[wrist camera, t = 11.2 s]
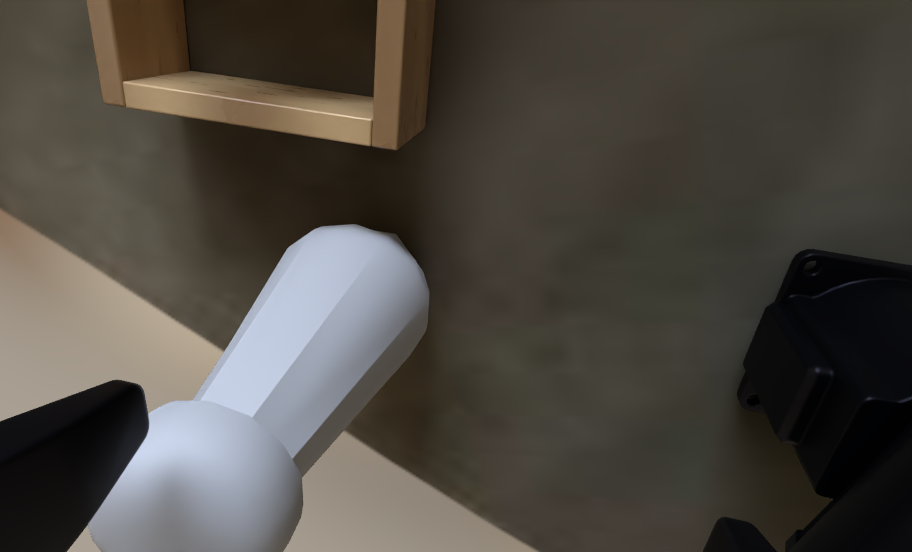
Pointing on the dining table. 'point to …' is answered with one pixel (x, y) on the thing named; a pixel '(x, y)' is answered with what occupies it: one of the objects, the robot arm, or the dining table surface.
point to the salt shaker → (272, 400)
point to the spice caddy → (259, 102)
